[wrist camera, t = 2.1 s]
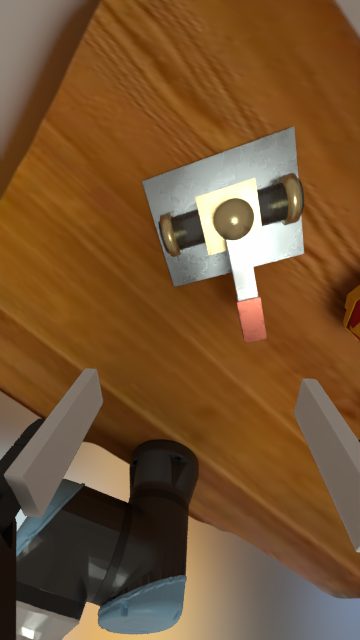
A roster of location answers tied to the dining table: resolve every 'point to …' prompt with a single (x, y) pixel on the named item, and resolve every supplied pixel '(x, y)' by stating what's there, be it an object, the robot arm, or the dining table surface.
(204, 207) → the valve
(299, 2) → the dining table surface
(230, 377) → the dining table surface
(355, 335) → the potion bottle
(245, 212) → the lever
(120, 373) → the dining table surface
